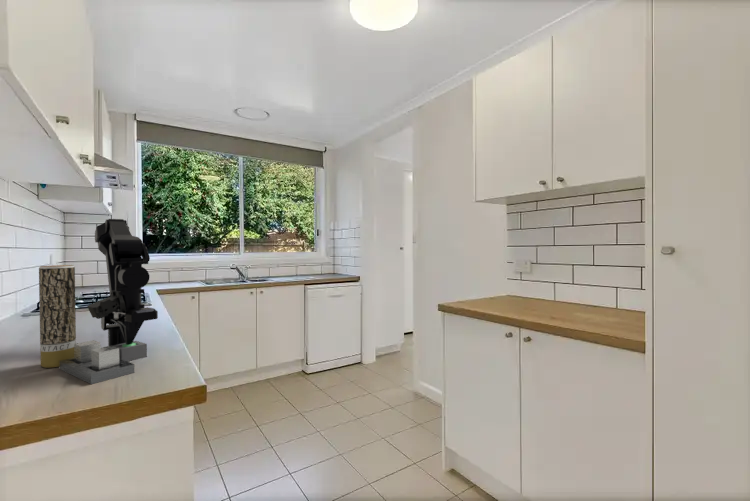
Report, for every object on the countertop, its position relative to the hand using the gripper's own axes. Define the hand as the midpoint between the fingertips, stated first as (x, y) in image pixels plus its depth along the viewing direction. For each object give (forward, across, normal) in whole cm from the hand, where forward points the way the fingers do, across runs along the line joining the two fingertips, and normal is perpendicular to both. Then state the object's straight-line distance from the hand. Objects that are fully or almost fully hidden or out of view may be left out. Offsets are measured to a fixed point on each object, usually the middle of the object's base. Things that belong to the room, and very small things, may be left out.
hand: (129, 344), depth 97 cm
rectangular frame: (+4, +5, -9) cm, 11 cm away
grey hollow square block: (+4, 0, 0) cm, 4 cm away
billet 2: (+4, +10, -9) cm, 14 cm away
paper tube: (+4, -9, -12) cm, 16 cm away
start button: (+2, 0, 0) cm, 3 cm away
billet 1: (+4, 0, -9) cm, 10 cm away
